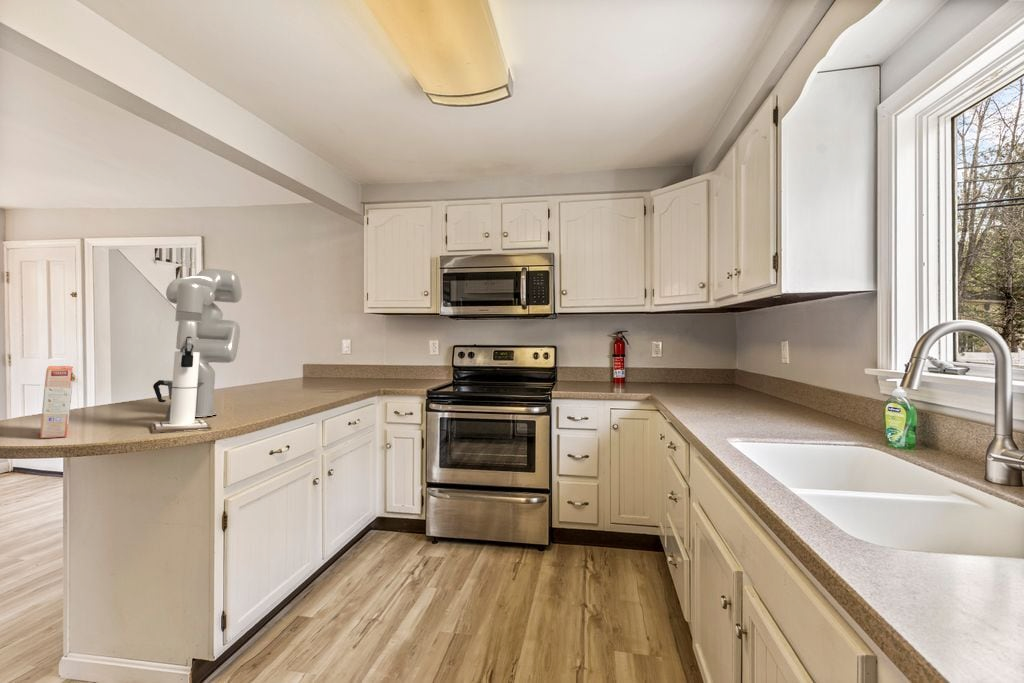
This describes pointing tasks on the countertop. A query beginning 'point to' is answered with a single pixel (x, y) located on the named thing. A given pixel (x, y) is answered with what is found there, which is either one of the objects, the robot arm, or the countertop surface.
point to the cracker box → (56, 401)
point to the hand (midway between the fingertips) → (185, 366)
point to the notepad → (178, 426)
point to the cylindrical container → (184, 391)
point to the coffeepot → (169, 384)
